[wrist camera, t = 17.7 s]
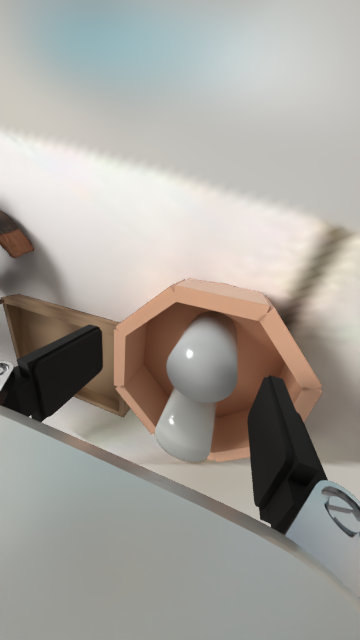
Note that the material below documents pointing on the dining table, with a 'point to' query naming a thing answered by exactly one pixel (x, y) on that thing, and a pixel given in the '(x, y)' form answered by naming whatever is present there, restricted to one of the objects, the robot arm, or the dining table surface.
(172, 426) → the stone
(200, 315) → the stone
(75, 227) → the dining table surface
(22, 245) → the brown piece
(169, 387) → the bowl
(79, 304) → the dining table surface
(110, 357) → the tray
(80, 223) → the dining table surface
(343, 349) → the dining table surface
